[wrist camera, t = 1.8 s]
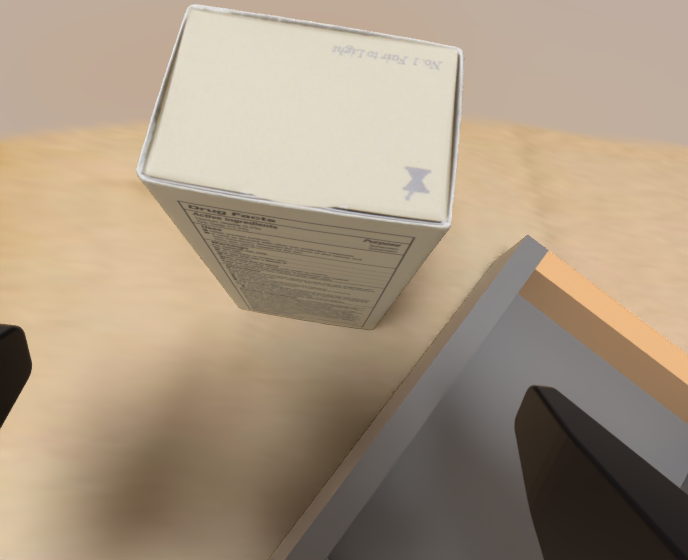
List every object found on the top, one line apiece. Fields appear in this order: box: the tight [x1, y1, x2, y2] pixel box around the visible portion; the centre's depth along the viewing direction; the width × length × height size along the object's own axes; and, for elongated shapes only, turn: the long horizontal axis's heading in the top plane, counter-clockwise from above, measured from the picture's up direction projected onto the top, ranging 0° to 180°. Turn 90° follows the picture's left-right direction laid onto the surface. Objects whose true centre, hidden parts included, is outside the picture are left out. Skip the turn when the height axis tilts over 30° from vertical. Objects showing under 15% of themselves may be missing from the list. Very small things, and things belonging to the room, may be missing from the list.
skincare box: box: [136, 4, 464, 330], centre depth 15 cm, size 6×4×12 cm
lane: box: [268, 235, 688, 560], centre depth 16 cm, size 12×18×6 cm, turn 141°
